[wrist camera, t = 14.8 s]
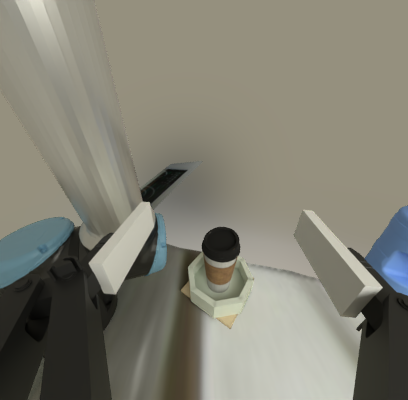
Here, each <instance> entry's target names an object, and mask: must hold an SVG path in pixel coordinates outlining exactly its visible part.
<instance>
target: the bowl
mask: <svg viewBox="0 0 408 400" xmlns="http://www.w3.org/2000/svg"><path fill="white" fill-rule="evenodd" d="M188 275H189V281H188V282H187V284H186V285H185V286H184V287H183V288H182V289H181V292H182V293H184V294H185V295H186V296H188V297H189V298H190V299H191V301H192V302H193V303H194V304H195V305H197V306H198V307H199V308H201V309H202V310H203V311H204V312H206V313H207V314H208V315H210V316H211V317H212V318H213V319H214V318H216V319H218V320H219V321H220V322H222V323H223V324H224V325H226V326H227V327H228V328H229V329H231V327H232V325H233V323H234V321H235V319H236V316H237V314H239V313H241V312H242V310H243V308H244V305H245V303H246V301H247V299H248V297H249V294H250V292H251V290H252V286H253V282H254V278H253V277H252V275H251V273H250V271H249V269H248V266H247V264H246V262H245V260H244V259H243V258H241V257H239V256H238V257H237V261H236V265H235V268H234V271H233V275H232V278H231V281H230V285H229V288H228V289H227V290H226V291H225V292H222V293H216V292H213V291H212V290H210V288H209V287H208V285H207V279H206V271H205V263H204V256H203V251H202V252H201V253H200V255H199V256H198V257H197V258H196V259H195V260H194V261H193V262H192V263H191V264H190V265H189V266H188Z"/></svg>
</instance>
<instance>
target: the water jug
mask: <svg viewBox="0 0 408 400" xmlns="http://www.w3.org/2000/svg"><path fill="white" fill-rule="evenodd" d="M365 260H366V261H367V263H369V264H370V265H371V266H372V267H373V269H375V270H376V271H377V272H378V273H379V274H380V275H381V276H382V277H383V278H384V280H385V281H386V282H387V283H388V284H389V285H390V286H391V287H392V288H393V289H394V290H395V291H396V292H398V293H402V294H405V295H407V296H408V206H404V207H402V208H400V209H399V211H398V212H397V213H396V214H395V215H394V217H393V218H392V219H391V221H390V223H389V225H388V226H387V228H386V229H385V230H384V232H383V233H382V235H381V236H380V238H378V239H377V240H376V242H375V243H374V245H373V246H372V249H371V250H370V252H369V253H368V254H367V256H366V257H365Z"/></svg>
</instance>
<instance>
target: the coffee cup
mask: <svg viewBox="0 0 408 400" xmlns="http://www.w3.org/2000/svg"><path fill="white" fill-rule="evenodd" d="M202 251H203V256H204V263H205V271H206V279H207V285H208V287H209V288H210V290H212V291H213V292H216V293H222V292H225V291H226V290H227V289H228V288H229V285H230V281H231V278H232V275H233V271H234V268H235V265H236V261H237V257H238V255H239V253H240V244H239V237H238V235H237V233H236V232H235V231H234V230H232V229H230V228H226V227H217V228H214V229H212V230H210V231H209V232H208V233H207V234H206V235H205V237H204V240H203V243H202Z"/></svg>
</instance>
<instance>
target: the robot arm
mask: <svg viewBox="0 0 408 400" xmlns="http://www.w3.org/2000/svg"><path fill="white" fill-rule="evenodd" d="M0 91H1V92H2V94H3V96H4V97H5V99H6V100H7V102H8V104H9V105H10V106H11V108H12V110H13V111H14V113H15V114H16V116H17V118H18V119H19V121H20V123H21V124H22V126H23V127H24V129H25V131H26V132H27V134H28V135H29V137H30V138H31V140H32V141H33V143H34V145H35V146H36V148H37V150H38V151H39V153H40V154H41V156H42V157H43V159H44V161H45V162H46V164H47V165H48V167H49V169H50V170H51V172H52V173H53V175H54V177H55V178H56V179H57V181H58V183H59V184H60V186H61V188H62V189H63V191H64V192H65V194H66V195H67V197H68V198H69V200H70V202H71V203H72V205H73V207H74V208H75V210H76V211H77V213H78V215H79V216H80V218H81V219H82V221H83V223H82V225H81V226H79V227H74V223H73V222H72V221H70V220H69V219H67V218H64V217H54V218H48V219H44V220H41V221H38V222H35V223H32V224H30V225H27V226H25V227H23V228H21V229H18V230H17V231H15V232H13V233H11V234H9V235H7V236H6V237H4V238H3V239H1V240H0V400H27V399H28V396H29V393H30V390H31V388H32V385H33V382H34V379H35V376H36V374H37V371H38V368H39V365H40V363H41V360H42V357H44V358H45V361H44V369H43V378H42V386H41V394H40V400H112V398H111V390H110V382H109V374H108V367H107V359H106V351H105V343H104V336H103V330H104V329H105V327H106V326H107V325H108V323H109V322H110V320H111V318H112V316H113V314H114V312H115V309H116V306H117V294H116V293H117V291H118V289H119V288H120V286H121V284H122V282H123V281H125V280H129V279H133V278H136V277H140V276H148V275H150V274H151V273H154V272H157V271H160V270H162V269H163V268H164V266H165V264H166V259H167V246H166V231H165V224H164V219H163V216H162V215H161V214H159V213H154V211H153V209H152V208H151V207H150V202H143V201H142V197H141V192H140V188H139V184H138V180H137V176H136V172H135V167H134V164H133V159H132V155H131V151H130V147H129V143H128V138H127V134H126V130H125V126H124V122H123V118H122V113H121V109H120V105H119V101H118V97H117V93H116V88H115V85H114V80H113V76H112V72H111V68H110V63H109V59H108V55H107V51H106V47H105V43H104V38H103V34H102V30H101V26H100V22H99V18H98V14H97V9H96V5H95V1H94V0H0ZM294 237H295V238H296V240H297V242H298V244H299V245H300V247H301V249H302V250H303V252H304V254H305V256H306V257H307V259H308V261H309V262H310V264H311V266H312V268H313V269H314V271H315V273H316V275H317V276H318V278H319V280H320V281H321V283H322V285H323V287H324V288H325V290H326V292H327V293H328V295H329V297H330V299H331V300H332V302H333V304H334V305H335V307H336V309H337V311H338V312H339V314H340V316H343V317H353V318H356V317H357V316H358V314H359V313H360V312H362V314H363V315H364V317H365V318H366V319H365V320H364V321H363V322H362V323H361V324H360V325H359V326H358V327H357V329H356V330H358V331H360V330H361V329H362V334H361V342H360V349H359V357H358V364H357V372H356V380H355V387H354V395H353V400H408V296H407V295H405V294H402V293H398V292H396V291H395V290H394V289H393V288H392V287H391V286H390V285H389V284H388V283H387V282H386V281H385V280H384V278H383V277H382V276H381V275H380V274H379V273H378V272H377V271H376V270H375V269H373V267H372V266H371V265H370V264H369V263H367V261H366V260H365V259H364V258H363V257H362V256H361V255H360V254H359V253H357V252H356V251H355V250H353V249H351V248H346V247H345V246H344V244H342V242H341V241H340V240H339V239H338V238H337V237H336V236H335V234H333V232H332V231H331V230H330V229H329V228H328V227H327V226H326V225H325V224H324V222H322V220H321V219H320V218H319V217H318V216H317V215H316V214H315V213H314V212H313V211H312V210H303V211H302V214H301V217H300V219H299V222H298V225H297V228H296V230H295V233H294Z"/></svg>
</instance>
